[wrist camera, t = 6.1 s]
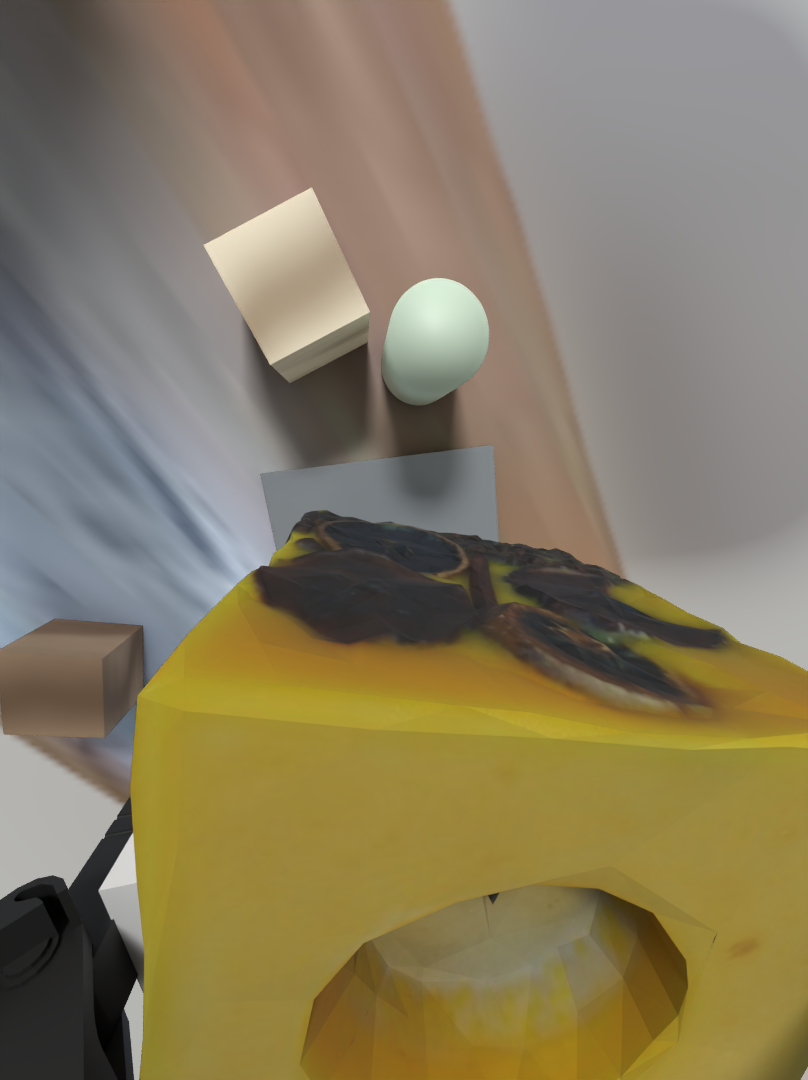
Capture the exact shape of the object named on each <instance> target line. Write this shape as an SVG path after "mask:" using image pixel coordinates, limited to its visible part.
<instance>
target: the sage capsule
mask: <svg viewBox="0 0 808 1080" xmlns="http://www.w3.org/2000/svg"><path fill="white" fill-rule="evenodd" d="M488 343H489V327H488V321H487V317H486V314H485V311H484V309H483V307H482V305H481V303H480V302H479V300H478V299H477V298H476V296H475V295H474V294H473V293H472V292H471V291H470V290H469V289H467V288H466V287H465V286H463V285H462V284H460V283H458V282H455V281H452V280H449V279H443V278H434V279H428V280H425V281H422V282H420V283H418V284H416V285H414V286H413V287H411V288H410V289H409V290H407V291H406V292H405V293H404V294H403V296H402V297H401V298H400V299H399V301H398V303H397V304H396V306H395V308H394V310H393V313H392V316H391V319H390V323H389V328H388V332H387V336H386V340H385V344H384V349H383V353H382V358H381V371H382V376H383V379H384V381H385V384H386V386H387V387H388V389H389V390H390V392H391V393H392V394H393V395H394V396H395V397H396V398H398V399H399V400H401V401H403V402H405V403H407V404H410V405H417V406H419V405H427V404H430V403H433V402H435V401H437V400H438V399H440V398H441V397H443V396H445V395H446V394H448V393H449V392H451V391H453V390H454V389H456V388H458V387H459V386H461V385H462V384H464V383H465V382H467V381H468V380H469V379H470V378H472V377H473V376H474V374H475V373H476V372H477V371H478V369H479V368H480V366H481V365H482V363H483V361H484V358H485V356H486V353H487V349H488Z"/></svg>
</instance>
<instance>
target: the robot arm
mask: <svg viewBox="0 0 808 1080" xmlns="http://www.w3.org/2000/svg"><path fill="white" fill-rule="evenodd" d="M136 979H137V980H138V982H139V984H140V987H141V989H142V991H143V993H144V946H143V936H142V927H141V918H140V908H139V899H138V890H137V879H136V865H135V851H134V837H133V823H132V808H131V796H130V798H129V799H128V801H127V802H126V804H125V805H124V807H123V808H122V810H121V811H120V813H119V814H118V816H117V820H114V822H113V823H112V825H111V826H110V828H109V829H108V831H107V832H106V834H105V838H104V839H102V840H101V841H100V843H99V844H98V846H97V847H96V849H95V850H94V852H93V853H92V855H91V856H90V858H89V859H88V861H87V862H86V864H85V865H84V867H83V868H82V870H81V872H80V873H79V874H78V876H77V877H76V879H75V880H74V882H73V883H72V885H71V886H70V888H69V889H68V888H67V886H66V884H65V882H64V880H63V879H62V878H59V877H56V876H48V877H44V878H38V879H35V880H33V881H31V882H30V883H27V884H25V885H23V886H21V887H19V888H17V889H15V890H14V891H13V892H11V893H10V894H8V895H7V896H5V897H4V898H2V899H1V900H0V1080H134V1074H133V1063H132V1052H131V1040H130V1030H129V1021H128V1018H127V1016H126V1013H125V1011H124V1007H125V1004H126V1002H127V1000H128V998H129V995H130V993H131V991H132V988H133V985H134V983H135V981H136Z"/></svg>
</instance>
